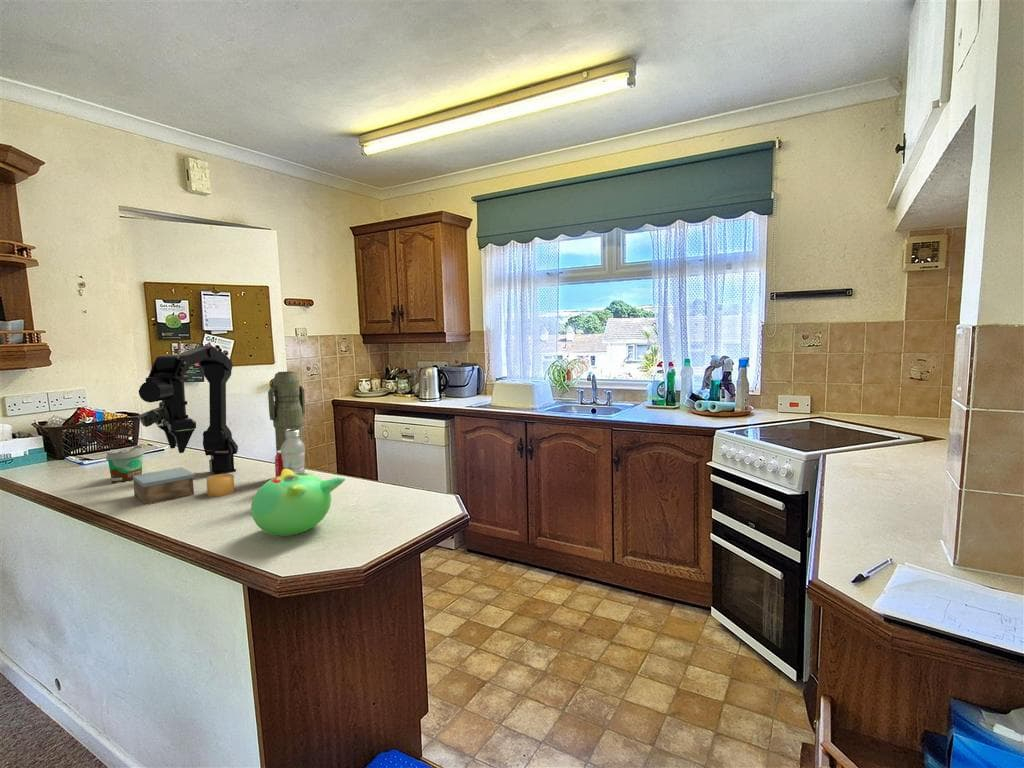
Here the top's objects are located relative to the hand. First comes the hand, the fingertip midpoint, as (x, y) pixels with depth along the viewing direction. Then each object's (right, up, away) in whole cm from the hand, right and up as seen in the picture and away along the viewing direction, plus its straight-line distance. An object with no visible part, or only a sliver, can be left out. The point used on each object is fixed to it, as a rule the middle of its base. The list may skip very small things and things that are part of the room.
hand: (177, 450), depth 148 cm
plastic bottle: (+37, -13, -5) cm, 40 cm away
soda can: (+31, -13, +5) cm, 34 cm away
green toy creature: (+48, -16, -29) cm, 58 cm away
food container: (-26, -12, +17) cm, 34 cm away
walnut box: (-3, -13, -1) cm, 14 cm away
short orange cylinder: (+12, -13, +2) cm, 18 cm away
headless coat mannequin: (+26, -12, +17) cm, 33 cm away
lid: (-3, -8, -1) cm, 9 cm away
